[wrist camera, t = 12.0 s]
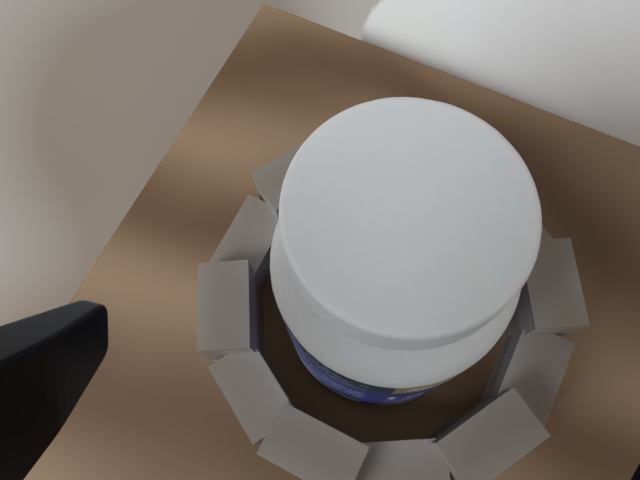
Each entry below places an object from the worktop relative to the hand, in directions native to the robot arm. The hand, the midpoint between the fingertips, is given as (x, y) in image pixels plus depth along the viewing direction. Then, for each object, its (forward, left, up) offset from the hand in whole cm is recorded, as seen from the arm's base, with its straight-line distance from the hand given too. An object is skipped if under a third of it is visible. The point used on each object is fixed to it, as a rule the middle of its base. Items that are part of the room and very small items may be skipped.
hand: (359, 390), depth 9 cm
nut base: (+3, 0, -11) cm, 11 cm away
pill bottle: (+3, +1, -10) cm, 10 cm away
